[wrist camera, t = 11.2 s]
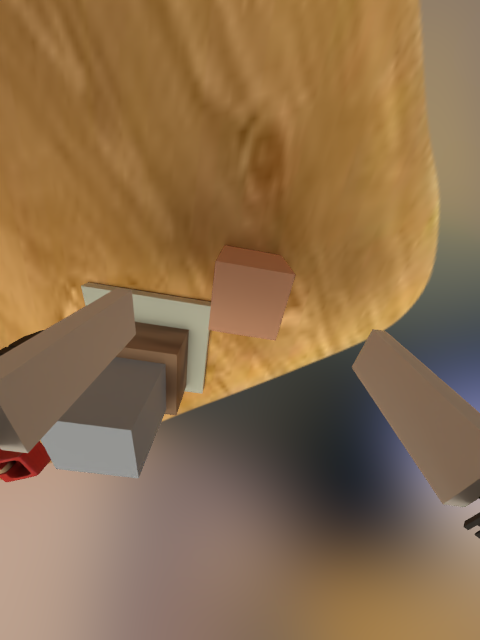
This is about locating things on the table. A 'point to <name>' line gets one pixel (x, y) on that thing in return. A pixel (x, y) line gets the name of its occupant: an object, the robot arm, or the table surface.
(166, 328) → the walnut base
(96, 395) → the slate brick
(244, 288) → the terracotta brick
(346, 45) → the table surface
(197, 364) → the plate
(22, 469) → the toy fire truck
